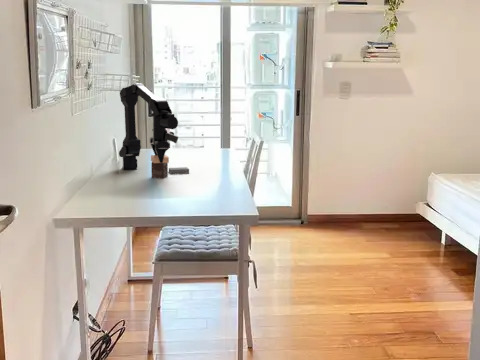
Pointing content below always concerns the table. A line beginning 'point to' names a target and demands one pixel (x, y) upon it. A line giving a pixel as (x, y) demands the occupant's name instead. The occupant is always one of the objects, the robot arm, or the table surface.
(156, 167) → the box
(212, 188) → the table surface
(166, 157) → the tile
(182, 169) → the block
